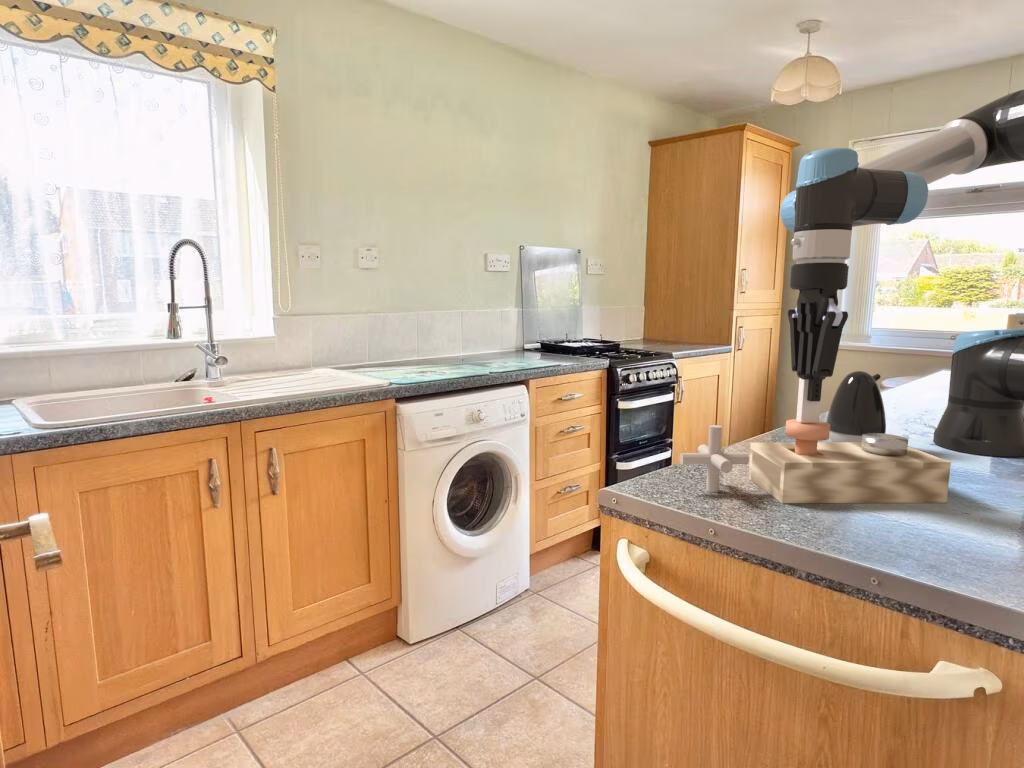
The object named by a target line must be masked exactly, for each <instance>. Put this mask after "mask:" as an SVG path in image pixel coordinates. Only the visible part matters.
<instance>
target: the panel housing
mask: <svg viewBox="0 0 1024 768" xmlns="http://www.w3.org/2000/svg"><path fill="white" fill-rule="evenodd" d="M795 443H796V441H795V442H794V441H793V442H792V441H791V442H790V441H789V442H786V441H785V442H780V441H779V442H750V445H749V447H750V448H749V462H748V464H749V465H748V479H749V480H750V481H751V482H753V483H754V484H755V485H757V486H758V487H759V488H761V489H762V490H764V491H765V492H766V493H768V494H769V495H770V496H772V497H773V498H774V499H776V500H777V501H778V502H780V503H781V504H899V503H901V504H903V503H904V504H909V503H912V504H929V503H930V504H932V503H933V504H935V503H938V504H940V503H942V504H943V503H947V501H948V493H949V492H948V491H949V483H950V475H951V474H950V473H951V465H952V462H951V461H948V460H945V459H943V458H940V457H938V456H935V455H932V454H929V453H928V452H924V451H921V450H919V449H916V448H914V447H912V446H911V447H910V446H909V445H908V448H907V454H905V455H877V454H875V453H871V452H867V451H865V450H863V449H861V444H862V442H832V441H831V442H828V441H827V442H825V441H824V442H822V441H821V442H820V441H818V443H817V455H798V454H796V453H795Z"/></svg>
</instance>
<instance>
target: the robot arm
mask: <svg viewBox="0 0 1024 768" xmlns="http://www.w3.org/2000/svg"><path fill="white" fill-rule="evenodd" d="M858 159H859V155H858V152H857V151H856V150H854V149H852V148H849V147H848V148H847V147H830V148H822V149H817V150H813V151H811V152H810V151H809V152H808V153H806V154H804V155H803V157H802V158H800V161H799V166H798V171H797V172H798V173H797V181H796V184H795V187H796V190H792V191H791V192H789V193H788V194H787V195H786V196H785V197H784V199H782V202H781V204H780V209H779V216H780V220H781V223H782V224H783V226H784V227H785V229H786V230H788V231H789V232H791V233H793V238H792V239H791V241H790V244H791V245H792V260H793V261H795V262H796V263H795V264H792V266H791V267H790V279H789V281H790V283H789V288H791V289H792V290H798V291H799V293H798V297H797V301H796V307H795V309H792V308H791V309H788V310H787V317H788V323H789V330H790V331H789V332H790V333H789V334H790V335H789V336H790V357H791V370H792V372H796V376H797V378H798V379H799V380H798V393H797V403H796V404H797V405H796V406H797V407H796V418H795V419H796V421H799V422H804V423H819V421H820V411H821V399H822V389H823V381H824V380H825V379H826V378H832V376H833V375H834V369H835V366H836V361H837V356H838V352H839V347H840V343H841V337H842V334H843V330H844V327H845V324H846V322H847V321H848V319H849V313H848V311H846V310H845V311H841V310H840V309H839V308H838V305H839V298H838V291H842V290H845V289H846V288H847V287H848V280H849V279H848V278H849V266H850V265H848V263H846V261H847V260H849V259H850V257H851V245H852V244H851V243H852V236H853V235H852V232H853V228H854V227H861V226H869V225H877V224H878V225H880V224H881V225H882V224H884V225H886V226H892V225H902V224H907V223H910V222H912V221H914V220H915V219H917V218H919V216H920V214H921V213H922V212H923V211H924V209H925V208H926V206H927V203H928V197H929V187H928V185H929V184H931V183H934V182H936V181H938V180H941V179H943V178H946V177H948V176H950V175H957V176H958V175H960V176H961V175H966V174H969V173H971V172H974V171H977V170H979V169H983V168H988V167H993V166H994V167H995V166H999V165H1005V164H1011V163H1019V162H1024V89H1021V90H1017V91H1014V92H1012V93H1011V92H1010V93H1007V94H1006V95H1004V96H1003V95H1002V97H1000V98H997V99H995V100H993V101H991V102H988V103H986V104H984V105H982V106H981V107H978V108H977V109H974V110H973V111H970V112H968V113H966V114H963V116H960V117H958V118H956V119H953V120H951V121H949V122H947V123H945V124H944V125H943V126H942V127H941V128H940V129H939V130H938V132H937V133H935V134H933V135H930V136H928V137H926V138H924V139H921V140H919V141H916V142H914V143H912V144H909V145H906V146H904V147H901V148H900V149H897V150H895V151H892V152H890V153H888V154H885V155H883V156H880V157H878V158H875V159H873V160H871V161H869V162H866V163H864V164H862V165H860V163H859V161H858ZM949 375H950V377H949V388H948V400H947V405H946V408H945V410H944V411H943V414H942V416H941V418H940V420H939V422H938V424H937V427H936V428H935V429H934V432H933V440H932V442H933V443H934V444H935V445H937V446H940V447H942V448H945V449H949V450H952V451H958V452H961V453H962V452H963V453H968V454H975V455H983V456H992V457H1023V456H1024V414H1023V409H1024V407H1023V406H1024V328H1010V329H1009V328H1007V329H1006V328H1005V329H990V330H989V329H988V330H987V329H986V330H975V331H974V330H973V331H965V332H962V333H959V335H957V336H956V338H955V340H954V345H953V351H952V352H951V367H950V374H949Z"/></svg>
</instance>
